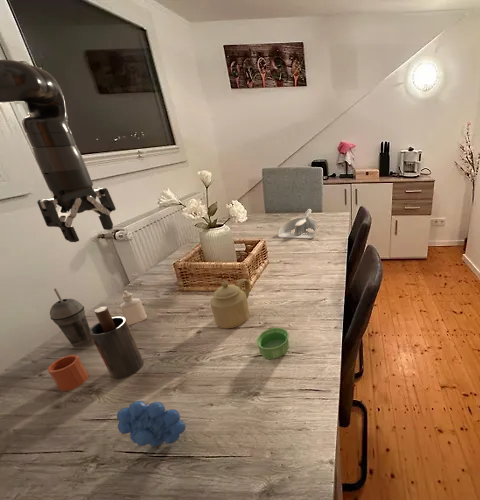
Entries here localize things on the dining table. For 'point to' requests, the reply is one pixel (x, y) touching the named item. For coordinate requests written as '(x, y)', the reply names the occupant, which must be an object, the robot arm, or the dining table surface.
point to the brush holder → (68, 372)
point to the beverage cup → (71, 320)
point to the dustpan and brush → (299, 227)
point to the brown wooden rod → (105, 319)
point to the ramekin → (273, 342)
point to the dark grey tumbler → (117, 349)
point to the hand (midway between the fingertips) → (92, 235)
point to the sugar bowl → (231, 304)
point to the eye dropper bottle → (132, 309)
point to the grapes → (150, 423)
